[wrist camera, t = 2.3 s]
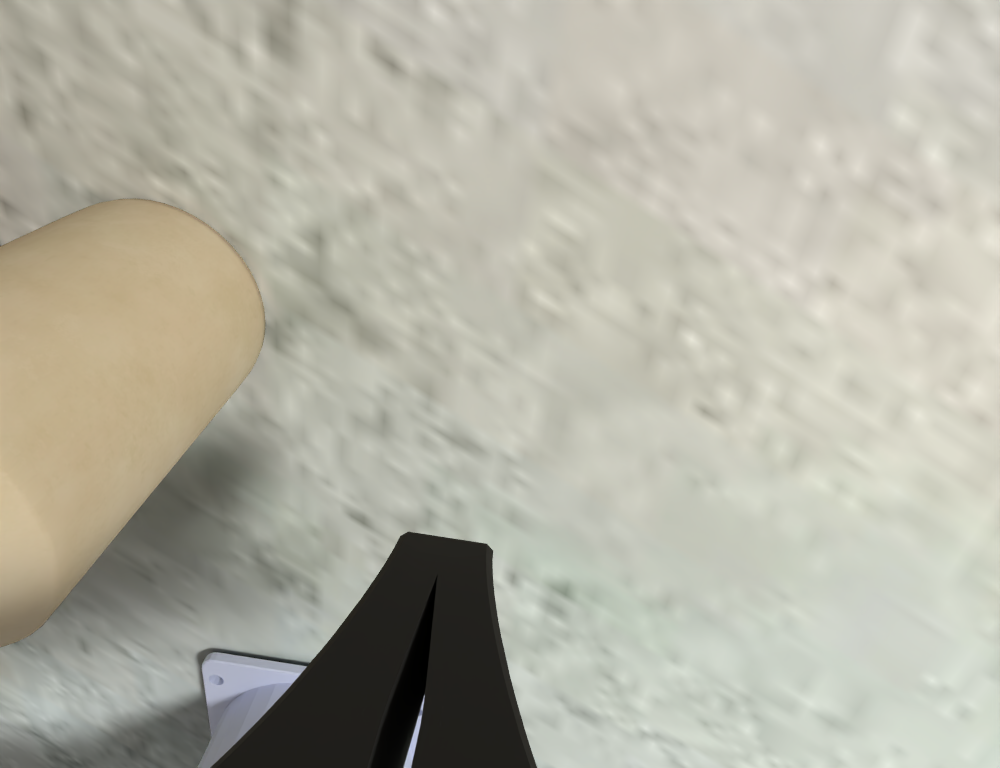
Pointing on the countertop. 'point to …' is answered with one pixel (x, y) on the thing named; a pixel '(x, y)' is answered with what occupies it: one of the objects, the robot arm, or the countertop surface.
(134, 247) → the candle
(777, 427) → the countertop surface
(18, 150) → the countertop surface
